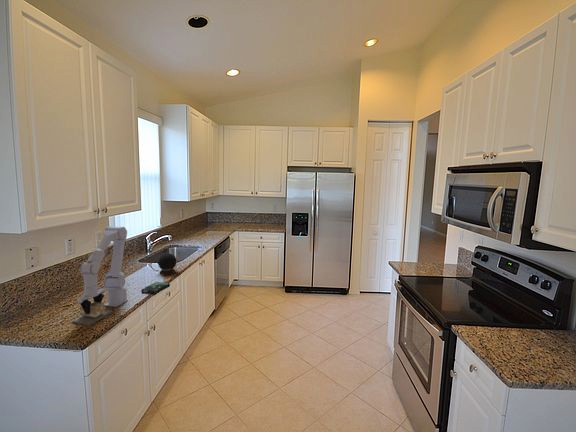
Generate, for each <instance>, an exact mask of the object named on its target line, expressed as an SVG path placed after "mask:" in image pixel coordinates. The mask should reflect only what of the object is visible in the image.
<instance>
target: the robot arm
mask: <svg viewBox="0 0 576 432" xmlns="http://www.w3.org/2000/svg"><path fill="white" fill-rule="evenodd" d="M102 234H103V237H102V239H101V241H100V243H99V245H98V247H97V249H94V250H92V252H91V254H90V255H89V257H88V259H87V260H86V261H85V262H83V263H82V264H81V266H80V269H79V272H80V273H81V276H82V277H83V290H84V291H83V292H84V293H83V295H82V296H80V297H79V298H77V299H76V301H77V304H79V306H82V308H83V309H84V312H85V314H90V305H91V302H92V300H91V301H90V299H93V302H98V303H103V302H102V301H103V299H104V297H105V293H107V303H104V307H106V306H107V307H114V308H117V307H119V306H120V305H122V304H124V303H127V302H128V301H129V298H128V295H127V288H126V287H125V285H126V275H125V274H124V273H123V272H122V266H123V259H124V252H125V244H126V241H127V236H128V230H127V228H126V227H125V226H110V225H109V226H106V227H105V228H104V230H103V232H102ZM112 242H113V250H112V255H111V261H110V262H111V264H110V269H109V271H108V272H107V273H105V277H104V278H103V281H102V285H103V288H100V289H99V285H98V272H99V271H100V268H101V262H102V261H103V259H104V258H105V256H106V253H105V251H106V250H107V249H108V247H109V245H110V244H111V243H112ZM106 291H107V292H106Z"/></svg>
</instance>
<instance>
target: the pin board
mask: <svg viewBox="0 0 576 432" xmlns="http://www.w3.org/2000/svg"><path fill="white" fill-rule="evenodd" d="M104 311H105V312H104V313H103V314H101V315H99V316H97V317H89V316H81V315H80V317H78V318H75V319H73V320H72V323H73V324H76V325H77V324H78V325H85V326H91V325H93V324H94V323H96V322H98V321H100V320H101V319H104V318H105V317H106V316H109V315H110V314H112V313H113V310H109V309H108V310H107V309H104Z"/></svg>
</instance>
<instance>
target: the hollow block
mask: <svg viewBox="0 0 576 432" xmlns="http://www.w3.org/2000/svg"><path fill="white" fill-rule="evenodd" d="M104 304H105V303H104V302H101V303H98V302H94V301H91V305H90V314H85V312H84V309H83V308H82V306H81V305H79V313H80V314H79V315H80V317H81V316H89V317H97V316H99V315H101V314H103V313H104V312H105V311H104V310H105V305H104Z"/></svg>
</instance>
